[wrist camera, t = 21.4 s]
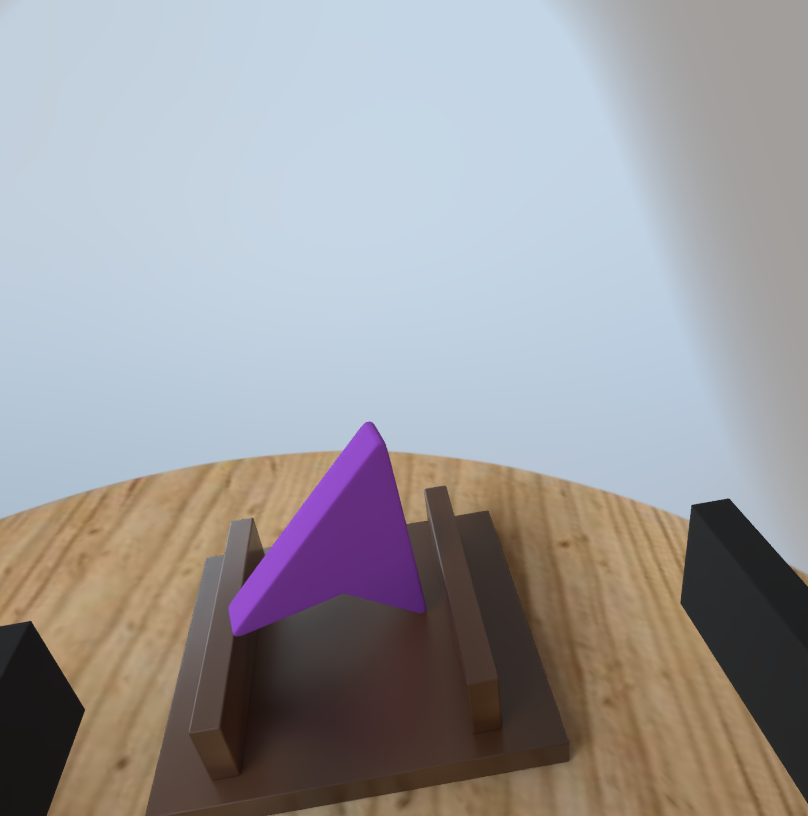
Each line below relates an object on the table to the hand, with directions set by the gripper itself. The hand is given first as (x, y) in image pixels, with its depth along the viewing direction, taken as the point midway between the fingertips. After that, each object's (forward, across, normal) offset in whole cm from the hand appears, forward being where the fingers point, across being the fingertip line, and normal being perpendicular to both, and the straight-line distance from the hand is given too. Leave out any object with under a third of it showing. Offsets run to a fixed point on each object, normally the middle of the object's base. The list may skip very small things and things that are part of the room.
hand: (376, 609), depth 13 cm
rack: (+12, -2, -15) cm, 19 cm away
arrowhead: (+12, -3, -12) cm, 17 cm away
